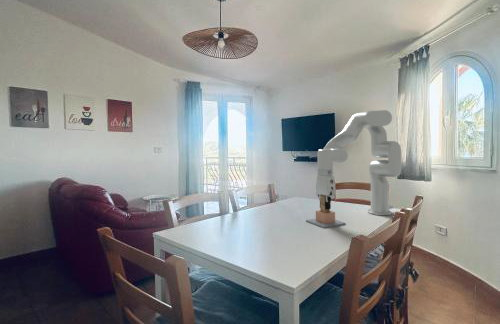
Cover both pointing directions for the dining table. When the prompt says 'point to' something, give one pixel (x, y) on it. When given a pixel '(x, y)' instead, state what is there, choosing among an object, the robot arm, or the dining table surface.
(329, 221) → the square socket base
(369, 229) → the dining table surface
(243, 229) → the dining table surface
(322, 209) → the stick
